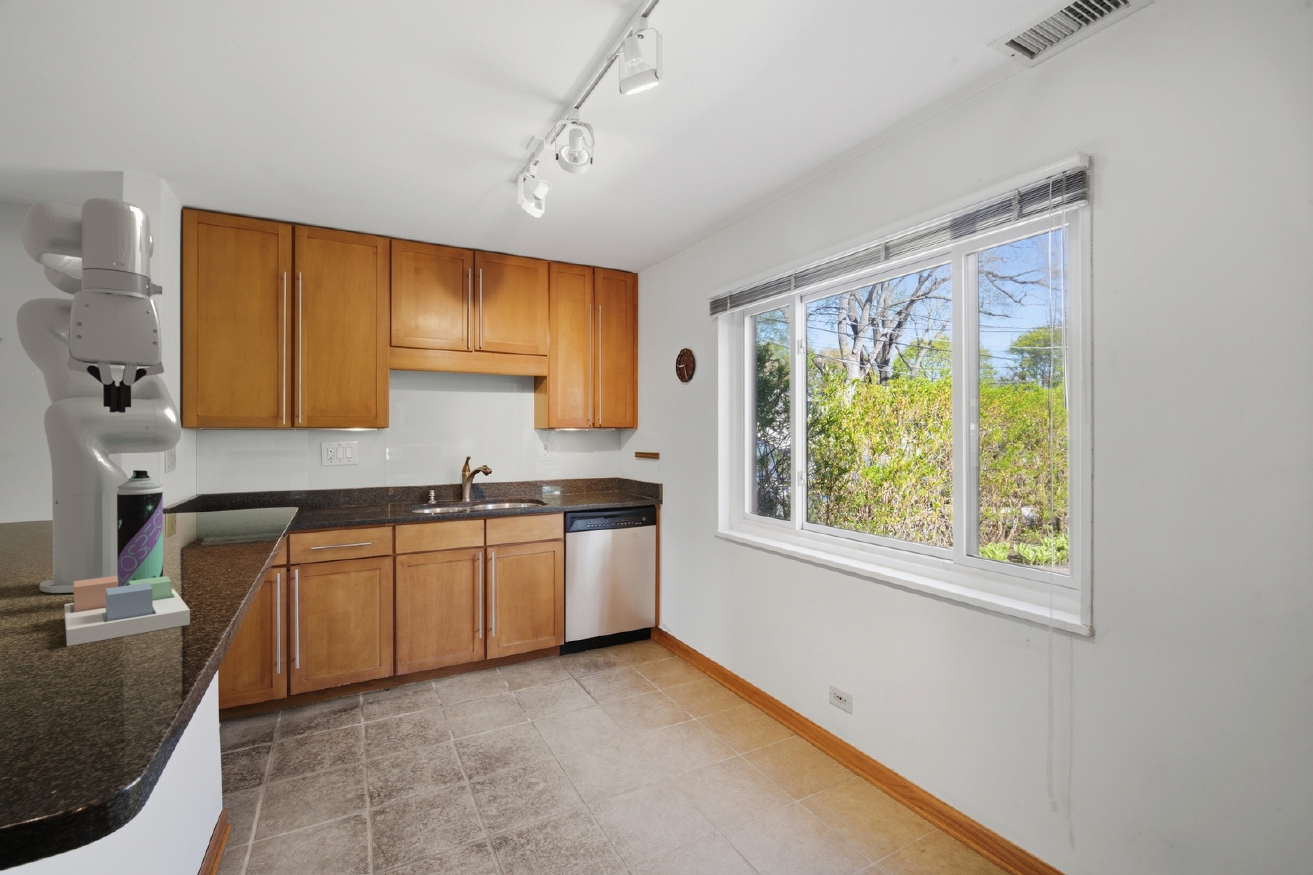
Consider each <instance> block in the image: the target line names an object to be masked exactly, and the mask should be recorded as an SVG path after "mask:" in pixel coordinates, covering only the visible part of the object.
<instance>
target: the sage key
mask: <svg viewBox="0 0 1313 875" xmlns="http://www.w3.org/2000/svg"><path fill="white" fill-rule="evenodd" d="M143 583H149V584H150V586H151V587H152V601H154V600H161V599H167V598H172V589H173V588H172V586H173V585H172V584H173V583H172V580H171V579H170V577H169V576H168V575H166V576H164V575H163V577H156V578H148V579H141V580H133V581H129V585H136V584H143Z"/></svg>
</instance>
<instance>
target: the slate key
mask: <svg viewBox="0 0 1313 875" xmlns="http://www.w3.org/2000/svg"><path fill="white" fill-rule="evenodd" d="M151 614H153V602H152V587H151V586H150V584H149V583H143V584H136V585H128V586H121V587H113V588H106V617H107V621H115V620H121V619H127V618H133V617H139V616H145V615H151Z"/></svg>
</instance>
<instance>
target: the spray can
mask: <svg viewBox="0 0 1313 875" xmlns="http://www.w3.org/2000/svg"><path fill="white" fill-rule="evenodd" d="M152 479H153V478H152V477H150V475H148V470H139V469H138V470H137V469H135V470H133V471H132V475H131V477H130V478H129V477H128V480H129V481H127V482H126V483H124V484H122V485H121V486H118V489H119V490H118V491H117V580H118V587H121V586H128V585H129V581H133V580H141V579H148V578H156V577H163V576H164V538H163V537H164V528H163V527H164V512H163V511H164V509H163V508H164V505H163V504H164V503H163V502H164V496H163V494H164V492H163V488H162V487H163V485H162V484H160V483H158V482H157V481H155V480H152Z"/></svg>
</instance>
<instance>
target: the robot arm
mask: <svg viewBox="0 0 1313 875" xmlns="http://www.w3.org/2000/svg"><path fill="white" fill-rule="evenodd" d="M150 224H151V223H150V217H149V215H148V213H147V212H146V210H144V209H143V208H142V207H139V206H138V205H135V204H133V203H130V202H127V201H123V200H118V199H114V198H106V197H92V198H88V199H86V200H85V201H84V202H83V204H82V206H77V205H72V204H67V203H63V202H57V201H49V200H40V201H37V202H34V203H32V204H31V206H29V208H28V209H27V212H26V214H25V215H24V218H23V222H22V227H21V237H22V238H21V239H22V243H23V245H24V249H25V250H26V252H27V254H28V256H29V257H30V258H31V259H32V260H33V261H34V262H36V263H38V264H39V265H41V266H43V274H44V277H45V278H46V279H47V281H48V282H49V283H50V284H51V285H52V286H53V287H55V289H57V290H59V291H61V292H64V293H66V294H69V295H73V299H69V298H58V297H56V298H55V297H41V298H34V299H31V300H30V299H29V300H27V301H25V302H23V303H22V304H21V305H20V307H19V308H18V310H17V313H16V318H15V322H16V329H17V335H18V339H19V342H20V344H21V346H22V348H23V350H24V352H25V354H26V355H27V356H28V358H29V359H30V360H31V361H32V362H33V364H34V365H35V366H36V367H37V368H38V369H39V370H40V371H41V373H42V374H43V379H44V382H45V383H44V384H45V386H46V391H47V393H48V397H49V400H50V402H51V404H50V405H49V406H48V407H47V408H46V410H45V411H44V415H43V424H44V431H45V435H46V441H47V445H48V450H49V456H50V465H51V483H52V484H51V485H52V489H51V490H52V491H51V492H52V493H51V494H52V503H51V504H52V507H51V508H52V577H50V578H48V579H45V580H43V581H42V582H40V583H39V591H41V592H42V593H48V594H68V593H69V594H70V593H74V581H80V580H88V579H96V578H104V577H112V576H116V577H117V491H118V490H119V489H118V486H121V485H122V484H124V483H126V482H127V481H129V480H128V479H129V477H128V475H127V474H126V472H125V471H124V470H123V469H122V468H121V467H120V465H118V464H116V463H115V462H114V461H112V459H111V458H110V457H109V455H115V454H116V455H118V454H145V453H146V454H147V453H148V454H150V453H163V452H167V451H170V450H171V449H173V448H175V447H176V445H178V443H179V442H180V439H181V437H182V436H181V435H182V423H181V422H182V421H181V419H180V415H179V412H178V409H177V407H176V405H175V403H174V401H173V399H172V397H171V393H170V392H169V389H168V387H167V385H166V383H165V382H164V380H163V379H162V377H161V376H160V375H161V374H163V373H164V372H165V369H164V365H163V362H162V358H163V344H162V343H163V342H162V330H161V321H160V317H159V316H160V315H159V310H158V306H157V303H156V301H155V300H154V299H151V297H153V295H154V296H155V295H156V296H157V295H159V296H162V295H163V285H157V284H155V283H154V282H153V281H152V275H151V258H152V257H153V254H154V247H155V246H154V238H153V234H152V233H151V225H150ZM111 366H120V367H121V366H122V367H123V366H124V368H117V367H111ZM138 367H139V368H138ZM137 368H138V369H137Z"/></svg>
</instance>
